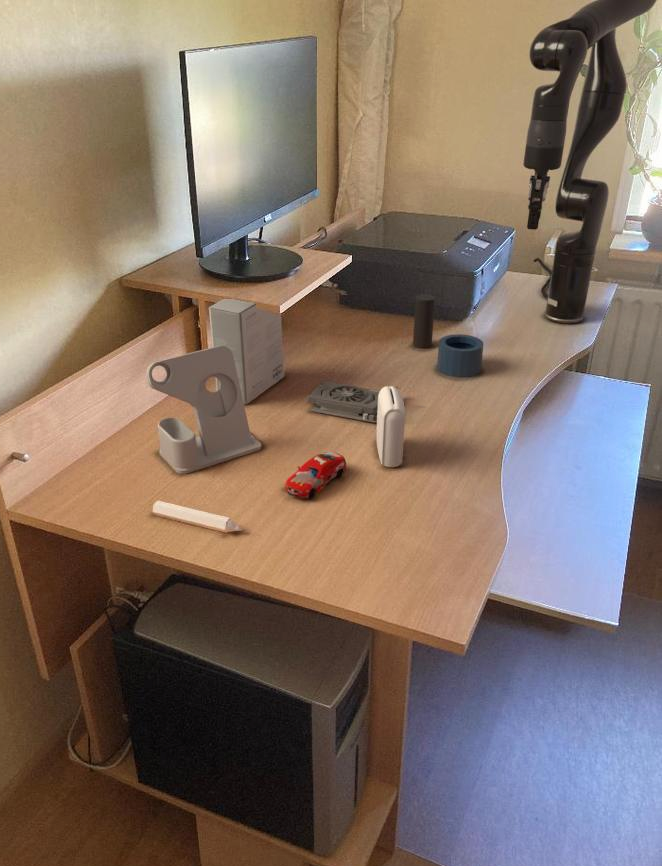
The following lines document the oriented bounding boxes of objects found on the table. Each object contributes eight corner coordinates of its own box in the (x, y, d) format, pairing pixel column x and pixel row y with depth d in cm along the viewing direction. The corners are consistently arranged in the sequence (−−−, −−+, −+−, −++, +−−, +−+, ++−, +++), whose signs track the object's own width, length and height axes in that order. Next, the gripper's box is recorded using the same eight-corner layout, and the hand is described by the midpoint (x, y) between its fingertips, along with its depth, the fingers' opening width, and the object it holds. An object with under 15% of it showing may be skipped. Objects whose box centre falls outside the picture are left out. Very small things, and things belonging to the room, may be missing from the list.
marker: (244, 539, 122) (156, 516, 128) (249, 527, 123) (161, 505, 128) (240, 532, 120) (150, 509, 125) (245, 520, 121) (155, 498, 126)
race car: (303, 505, 129) (303, 485, 127) (279, 494, 132) (278, 474, 130) (351, 471, 137) (352, 452, 135) (327, 461, 140) (327, 442, 138)
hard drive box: (255, 370, 174) (251, 282, 163) (285, 377, 170) (282, 288, 160) (215, 398, 162) (207, 305, 152) (246, 406, 159) (240, 312, 148)
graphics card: (403, 384, 159) (383, 408, 149) (402, 401, 160) (382, 426, 151) (326, 372, 165) (303, 394, 155) (326, 388, 167) (303, 411, 157)
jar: (440, 359, 177) (442, 332, 174) (482, 364, 175) (486, 336, 171) (433, 376, 170) (435, 348, 166) (477, 381, 167) (481, 353, 164)
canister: (414, 342, 186) (417, 293, 180) (432, 344, 185) (437, 294, 179) (411, 349, 183) (414, 299, 176) (429, 351, 181) (433, 301, 175)
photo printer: (374, 440, 147) (376, 380, 140) (397, 439, 147) (400, 379, 140) (379, 468, 138) (382, 406, 131) (403, 468, 138) (407, 405, 131)
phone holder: (178, 476, 137) (167, 382, 127) (155, 451, 144) (142, 361, 134) (263, 448, 145) (259, 358, 135) (237, 426, 152) (232, 339, 142)
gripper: (563, 149, 153) (550, 233, 161) (565, 137, 164) (553, 217, 173) (523, 148, 154) (512, 231, 163) (528, 136, 166) (518, 214, 175)
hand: (533, 223), depth 168 cm, fingers open, 8 cm apart
